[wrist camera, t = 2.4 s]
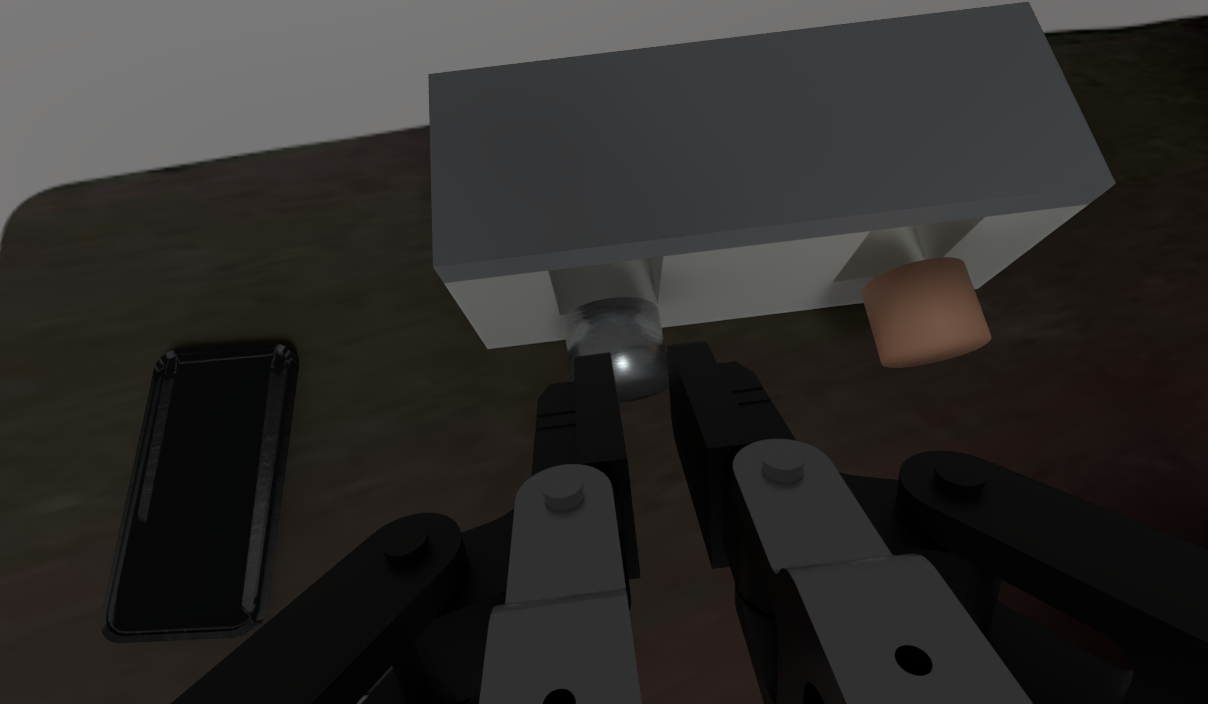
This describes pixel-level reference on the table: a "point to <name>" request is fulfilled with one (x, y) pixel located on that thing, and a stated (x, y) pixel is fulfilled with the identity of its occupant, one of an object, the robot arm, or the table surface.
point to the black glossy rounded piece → (621, 343)
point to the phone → (204, 496)
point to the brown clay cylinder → (924, 313)
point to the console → (751, 169)
